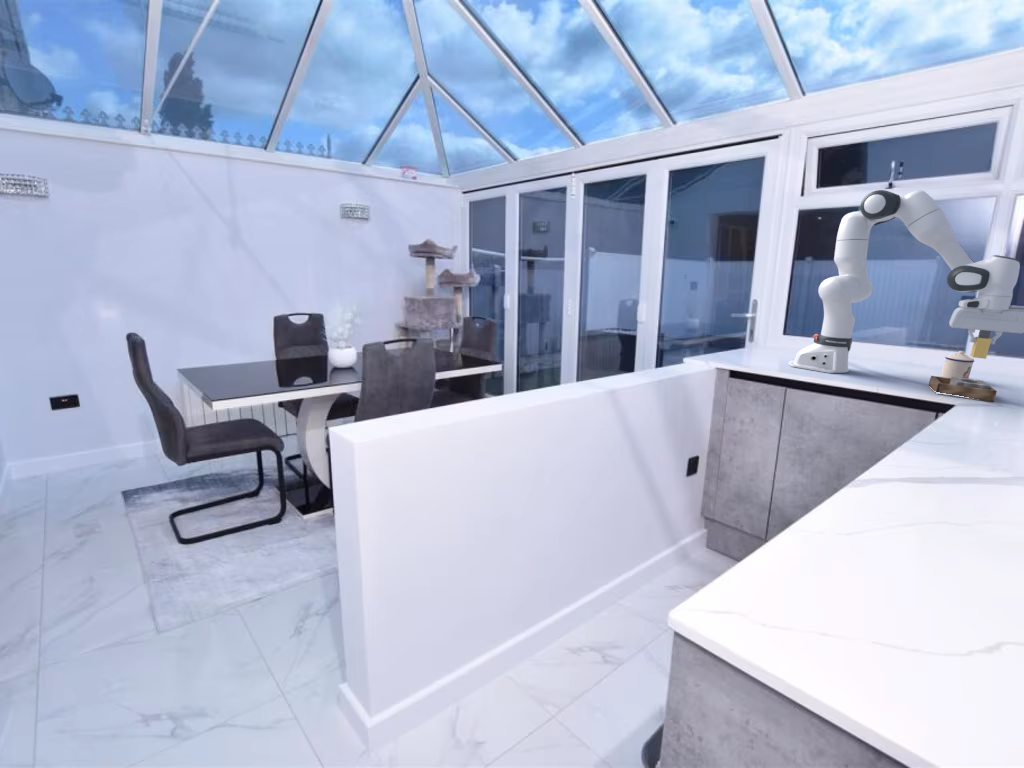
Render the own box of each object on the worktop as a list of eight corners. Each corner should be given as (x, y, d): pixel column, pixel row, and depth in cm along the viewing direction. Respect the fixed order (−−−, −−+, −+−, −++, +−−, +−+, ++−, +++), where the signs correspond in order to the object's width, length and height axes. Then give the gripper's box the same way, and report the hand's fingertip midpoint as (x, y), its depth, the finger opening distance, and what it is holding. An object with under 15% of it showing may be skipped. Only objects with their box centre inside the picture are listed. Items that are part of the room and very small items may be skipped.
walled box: (935, 394, 186) (939, 380, 184) (928, 385, 197) (931, 373, 196) (993, 402, 178) (997, 388, 177) (982, 393, 190) (986, 380, 189)
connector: (972, 357, 182) (980, 329, 180) (970, 355, 185) (977, 328, 183) (985, 358, 181) (993, 330, 178) (983, 357, 184) (990, 329, 181)
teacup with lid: (967, 383, 204) (976, 354, 201) (938, 378, 210) (946, 350, 207) (969, 378, 213) (977, 351, 210) (941, 374, 218) (948, 347, 215)
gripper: (1029, 305, 176) (1017, 345, 179) (953, 300, 186) (943, 338, 189) (1036, 307, 171) (1024, 348, 174) (957, 302, 180) (947, 340, 184)
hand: (981, 343), depth 182 cm, fingers closed on connector, 4 cm apart
